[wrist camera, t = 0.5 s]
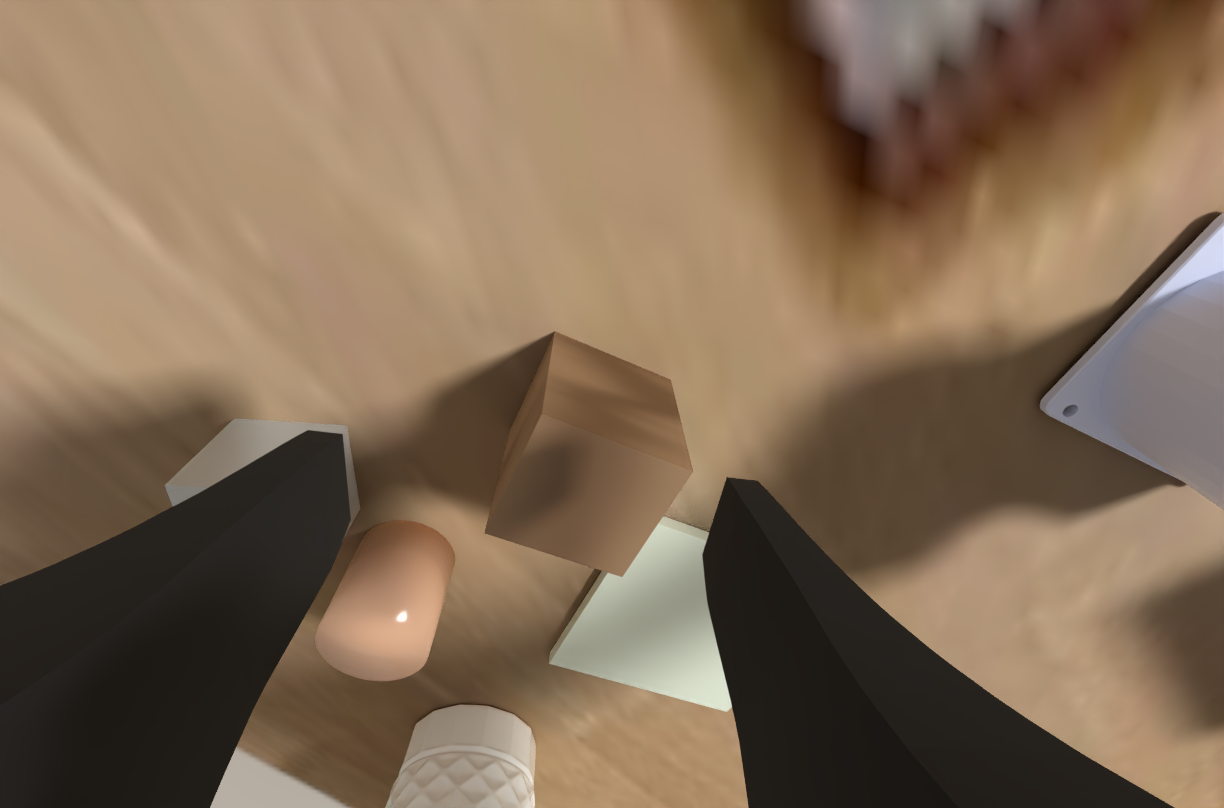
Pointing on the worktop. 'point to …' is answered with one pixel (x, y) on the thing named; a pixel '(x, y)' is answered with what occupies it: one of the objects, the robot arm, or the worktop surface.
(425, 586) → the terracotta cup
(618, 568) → the walnut block
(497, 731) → the white cup
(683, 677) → the coaster
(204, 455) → the grey stone block
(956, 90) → the worktop surface
